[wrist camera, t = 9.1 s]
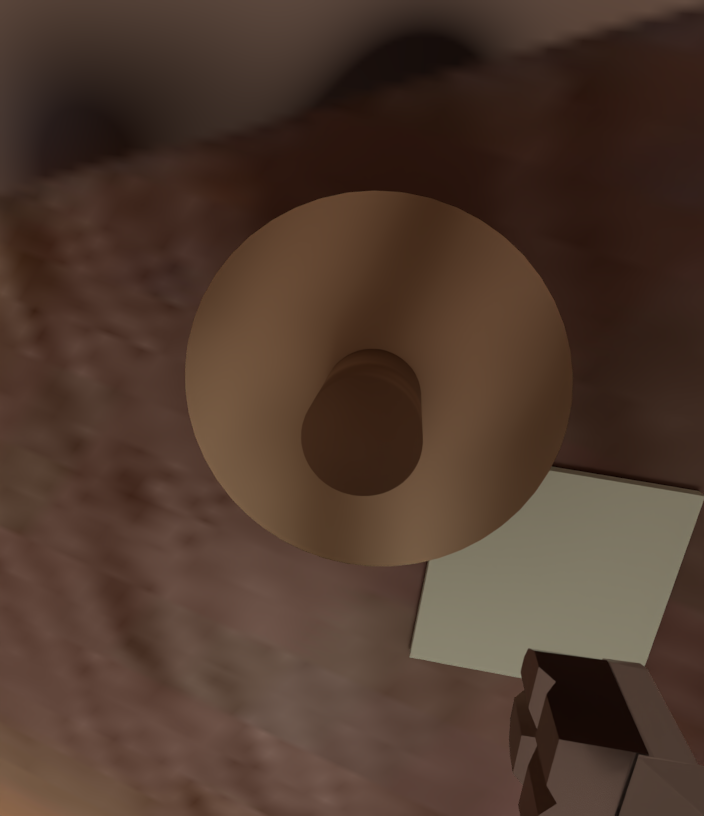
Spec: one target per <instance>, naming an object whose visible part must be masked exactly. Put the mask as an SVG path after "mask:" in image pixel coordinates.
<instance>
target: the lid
mask: <svg viewBox="0 0 704 816" xmlns="http://www.w3.org/2000/svg"><path fill="white" fill-rule="evenodd" d="M572 388H573V372H572V361H571V351H570V347H569V343H568V339H567V334H566V330H565V326H564V323H563V321H562V318H561V316H560V313H559V311H558V308H557V306H556V303H555V301H554V299H553V297H552V296H551V294H550V292H549V290H548V289H547V287H546V285H545V283H544V282H543V280H542V278H541V277H540V275H539V274H538V273H537V272H536V270H535V269H534V268H533V267H532V265H531V264H530V263H529V261H528V260H527V259H526V258H525V256H524V255H523V254H522V253H521V252H520V251H519V250H518V249H516V248H515V247H514V246H513V245H512V244H511V243H510V242H509V241H508V240H507V239H506V238H505V237H504V236H503V235H501V234H500V233H498V232H497V231H496V230H494V229H493V228H491V227H490V226H489V225H487V224H486V223H484V222H483V221H482V220H480V219H478V218H476V217H474V216H472V215H470V214H468V213H467V212H465V211H463V210H461V209H459V208H457V207H454V206H451V205H449V204H446V203H443V202H440V201H438V200H435V199H432V198H428V197H423V196H419V195H414V194H409V193H404V192H391V191H376V190H374V191H361V192H348V193H343V194H338V195H334V196H329V197H324V198H320V199H317V200H315V201H312V202H309V203H307V204H304V205H301V206H298V207H296V208H294V209H292V210H290V211H288V212H286V213H284V214H282V215H281V216H279V217H277V218H275V219H273V220H271V221H270V222H269V223H267V224H266V225H264V226H263V227H262V228H260V229H259V230H258V231H256V232H255V233H254V234H252V235H251V236H250V237H249V238H247V239H246V240H245V241H244V242H243V243H242V244H241V245H240V246H239V247H238V248H237V249H236V250H235V251H234V252H233V253H232V254H231V255H230V257H229V258H228V259H227V260H226V262H225V263H224V264H223V266H222V267H221V268H220V270H219V271H218V272H217V273H216V275H215V276H214V278H213V280H212V282H211V283H210V285H209V287H208V289H207V290H206V292H205V294H204V296H203V298H202V300H201V303H200V305H199V308H198V310H197V313H196V315H195V318H194V321H193V324H192V328H191V332H190V336H189V340H188V346H187V354H186V363H185V391H186V398H187V404H188V411H189V416H190V420H191V423H192V427H193V430H194V434H195V437H196V440H197V442H198V444H199V447H200V449H201V451H202V454H203V456H204V458H205V460H206V462H207V464H208V465H209V467H210V469H211V470H212V472H213V474H214V476H215V477H216V479H217V480H218V482H219V483H220V484H221V486H222V487H223V488H224V490H225V491H226V492H227V494H228V495H229V496H230V497H231V498H232V499H233V501H234V502H235V503H236V504H237V505H238V506H239V507H240V508H241V509H242V510H243V511H244V512H245V513H246V514H247V515H248V516H250V517H251V518H252V519H253V520H254V521H256V522H257V523H258V524H259V525H261V526H262V527H263V528H264V529H266V530H267V531H269V532H271V533H272V534H274V535H275V536H277V537H278V538H280V539H281V540H283V541H285V542H287V543H289V544H291V545H293V546H295V547H297V548H299V549H301V550H303V551H306V552H309V553H312V554H314V555H317V556H320V557H323V558H326V559H330V560H334V561H339V562H343V563H347V564H355V565H364V566H400V565H408V564H417V563H421V562H425V561H429V560H433V559H438V558H441V557H444V556H446V555H449V554H452V553H454V552H457V551H460V550H462V549H464V548H466V547H468V546H470V545H472V544H474V543H476V542H478V541H480V540H482V539H483V538H485V537H486V536H488V535H489V534H491V533H492V532H494V531H495V530H497V529H498V528H499V527H501V526H502V525H503V524H504V523H506V522H507V521H508V520H509V519H510V518H511V517H512V516H514V515H515V514H516V513H517V512H518V511H519V510H520V509H521V508H522V507H523V506H524V505H525V503H526V502H527V501H528V500H529V499H530V498H531V497H532V495H533V494H534V493H535V492H536V490H537V489H538V487H539V486H540V484H541V483H542V481H543V480H544V478H545V477H546V475H547V474H548V472H549V471H550V469H551V466H552V464H553V462H554V460H555V458H556V456H557V454H558V452H559V450H560V447H561V444H562V441H563V438H564V435H565V432H566V429H567V426H568V420H569V415H570V409H571V404H572Z"/></svg>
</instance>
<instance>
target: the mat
mask: <svg viewBox="0 0 704 816" xmlns="http://www.w3.org/2000/svg"><path fill="white" fill-rule="evenodd" d="M703 501H704V495H703V494H702V493H701V492H700V491H696V490H690V489H684V488H678V487H672V486H666V485H660V484H654V483H648V482H642V481H636V480H630V479H624V478H618V477H612V476H606V475H600V474H594V473H588V472H582V471H576V470H570V469H564V468H558V467H552V466H551V469H550V471H549V472H548V474H547V475H546V477H545V478H544V480H543V481H542V483H541V484H540V486H539V487H538V489H537V490H536V492H535V493H534V494H533V495H532V497H531V498H530V499H529V500H528V501H527V502H526V503H525V505H524V506H523V507H522V508H521V509H520V510H519V511H518V512H517V513H516V514H515V515H514V516H512V517H511V518H510V519H509V520H508V521H507V522H506V523H504V524H503V525H502V526H501V527H499V528H498V529H497V530H495V531H494V532H492V533H491V534H489V535H488V536H486V537H485V538H483V539H482V540H480V541H478V542H476V543H474V544H472V545H470V546H468V547H466V548H464V549H462V550H460V551H457V552H454V553H452V554H449V555H446V556H444V557H441V558H438V559H433V560H429V561H428V562H427V567H426V572H425V577H424V582H423V587H422V592H421V597H420V602H419V607H418V611H417V616H416V621H415V626H414V631H413V636H412V641H411V646H410V657H411V658H417V659H422V660H427V661H433V662H438V663H443V664H449V665H454V666H459V667H465V668H470V669H475V670H481V671H486V672H491V673H497V674H502V675H507V676H513V677H518V678H522V677H521V667H522V663H523V659H524V656H525V654H526V652H527V650H528V648H531V649H538V650H544V651H550V652H557V653H563V654H570V655H576V656H582V657H589V658H595V659H601V660H602V659H603V658H604V659H612V660H620V661H627V662H635V663H641V664H642V665H643V666H644V667H645V664H646V661H647V658H648V656H649V653H650V650H651V647H652V644H653V641H654V639H655V636H656V633H657V630H658V627H659V625H660V622H661V619H662V616H663V613H664V610H665V608H666V605H667V602H668V599H669V596H670V594H671V591H672V588H673V585H674V582H675V579H676V577H677V574H678V571H679V568H680V565H681V563H682V560H683V557H684V554H685V551H686V548H687V546H688V543H689V540H690V537H691V534H692V532H693V529H694V526H695V523H696V520H697V518H698V515H699V512H700V509H701V506H702V503H703Z"/></svg>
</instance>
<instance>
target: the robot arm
mask: <svg viewBox="0 0 704 816" xmlns="http://www.w3.org/2000/svg"><path fill="white" fill-rule="evenodd" d="M521 677H522V681H523V686H524V691H522V692H521V693H520V694H519V695H517V696H516V697H515V698H514V702H513V707H512V712H511V717H510V731H509V747H510V759H511V765H512V771H513V774H514V775H515V776H516V778H517V779H518V780H519V781H520V782H521V784H522V785H523V787H522V791H521V796H520V800H519V804H518V806H519V812H520V816H704V766H701V765H698V763H697V761H696V759H695V757H694V756H693V754H692V752H691V750H690V748H689V746H688V744H687V742H686V741H685V739H684V737H683V735H682V733H681V731H680V729H679V727H678V726H677V724H676V722H675V720H674V718H673V716H672V714H671V713H670V711H669V709H668V707H667V705H666V703H665V701H664V699H663V698H662V696H661V694H660V692H659V690H658V688H657V686H656V684H655V683H654V681H653V679H652V677H651V675H650V673H649V671H648V669H647V668H646V667H644V666H643V665H642V664H641V663H635V662H627V661H620V660H612V659H604V658H603V659H602V660H601V659H595V658H589V657H582V656H576V655H570V654H563V653H557V652H550V651H544V650H538V649H531V648H528V650H527V652H526V654H525V656H524V659H523V663H522V667H521Z"/></svg>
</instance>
